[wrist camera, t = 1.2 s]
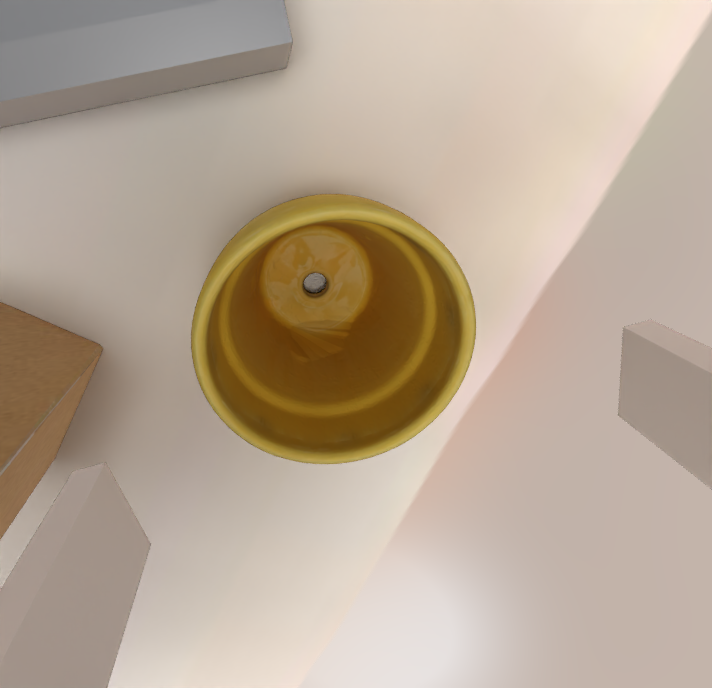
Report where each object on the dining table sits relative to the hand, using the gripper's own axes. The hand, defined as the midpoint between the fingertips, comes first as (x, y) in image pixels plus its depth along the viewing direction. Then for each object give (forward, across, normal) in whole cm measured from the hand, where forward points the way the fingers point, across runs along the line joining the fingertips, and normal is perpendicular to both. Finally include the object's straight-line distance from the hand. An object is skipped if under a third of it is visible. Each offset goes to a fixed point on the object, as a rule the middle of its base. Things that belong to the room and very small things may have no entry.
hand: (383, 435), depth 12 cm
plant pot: (+15, 0, 0) cm, 15 cm away
